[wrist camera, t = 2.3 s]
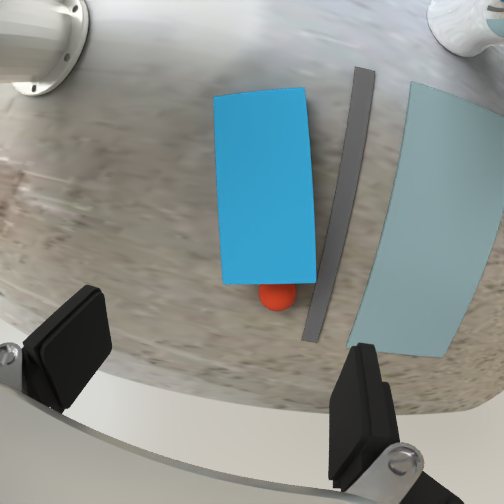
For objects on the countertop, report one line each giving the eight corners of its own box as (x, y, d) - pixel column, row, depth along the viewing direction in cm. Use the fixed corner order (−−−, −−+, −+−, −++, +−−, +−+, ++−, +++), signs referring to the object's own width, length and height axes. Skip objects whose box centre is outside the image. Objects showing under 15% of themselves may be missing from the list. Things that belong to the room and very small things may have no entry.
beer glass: (472, -6, 15) (564, -58, 2) (497, 61, 18) (611, 47, 4) (410, -8, 17) (485, -89, 4) (437, 63, 20) (547, 30, 6)
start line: (355, 67, 21) (355, 66, 21) (374, 71, 21) (375, 71, 21) (301, 338, 32) (301, 340, 32) (316, 341, 32) (316, 342, 32)
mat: (410, 81, 21) (412, 81, 20) (518, 125, 20) (520, 125, 19) (346, 345, 32) (346, 347, 31) (441, 355, 30) (442, 357, 30)
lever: (234, 120, 29) (244, 305, 31) (213, 96, 22) (226, 330, 24) (306, 114, 28) (315, 304, 30) (304, 87, 21) (316, 330, 23)
